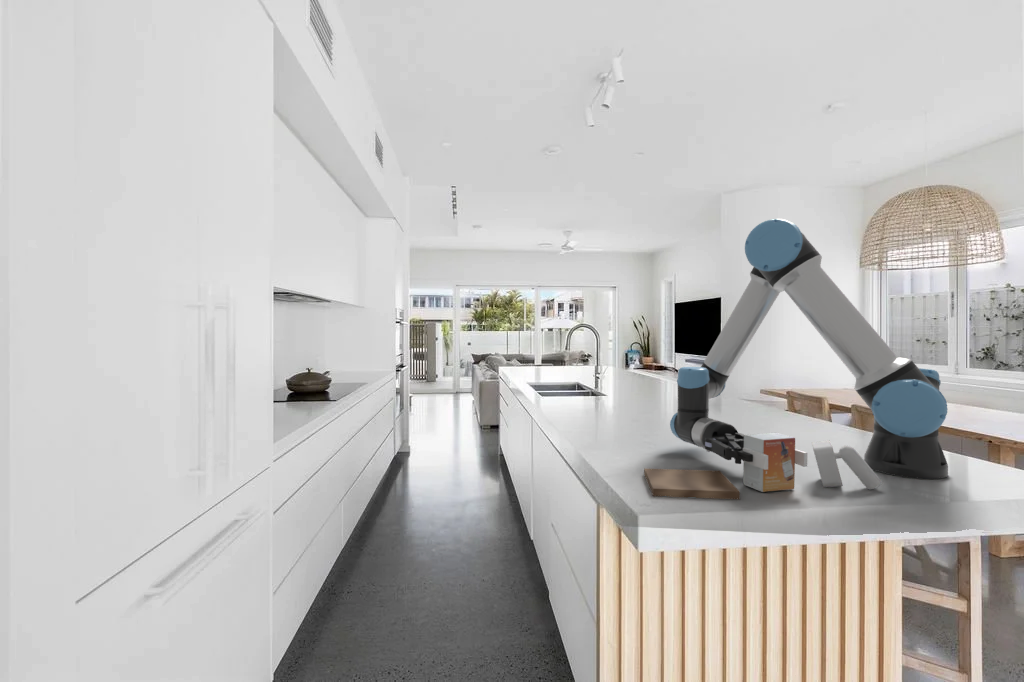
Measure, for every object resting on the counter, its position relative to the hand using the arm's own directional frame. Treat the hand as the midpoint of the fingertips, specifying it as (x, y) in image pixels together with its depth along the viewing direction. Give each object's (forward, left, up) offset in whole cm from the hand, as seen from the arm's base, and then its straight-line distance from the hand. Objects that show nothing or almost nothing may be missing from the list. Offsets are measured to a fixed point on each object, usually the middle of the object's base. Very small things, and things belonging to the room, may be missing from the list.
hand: (786, 461), depth 99 cm
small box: (+2, -4, -7) cm, 8 cm away
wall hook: (-14, -7, -7) cm, 18 cm away
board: (+18, -3, -7) cm, 19 cm away
